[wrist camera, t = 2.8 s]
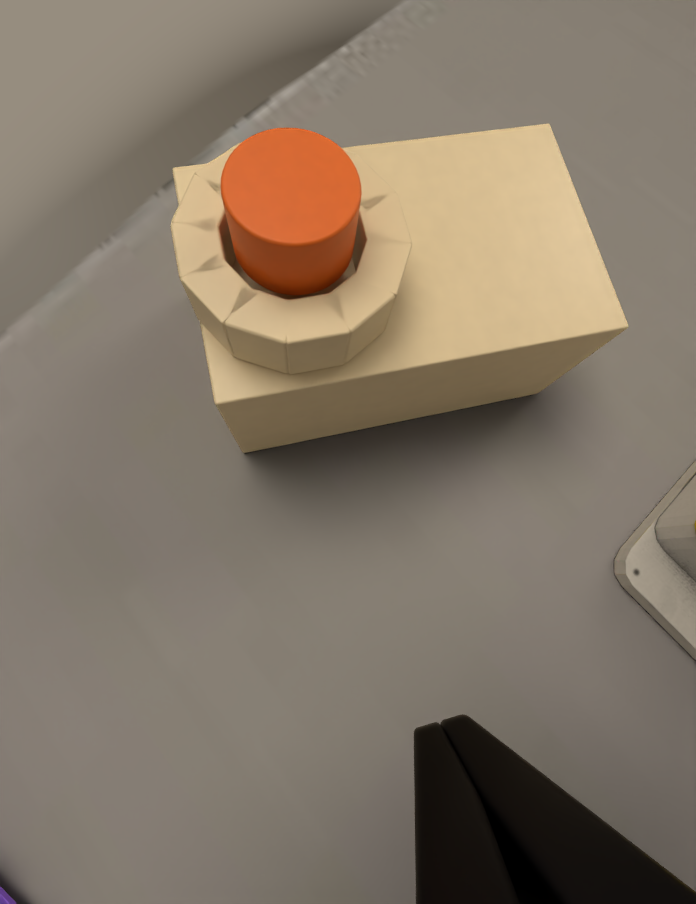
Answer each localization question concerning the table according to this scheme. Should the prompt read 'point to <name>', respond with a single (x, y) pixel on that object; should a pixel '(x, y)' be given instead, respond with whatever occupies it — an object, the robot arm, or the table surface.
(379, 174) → the button base
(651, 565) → the emergency button
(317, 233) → the round orange push button
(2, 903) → the toy race car
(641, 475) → the table surface
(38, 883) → the table surface
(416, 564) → the table surface
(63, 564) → the table surface
